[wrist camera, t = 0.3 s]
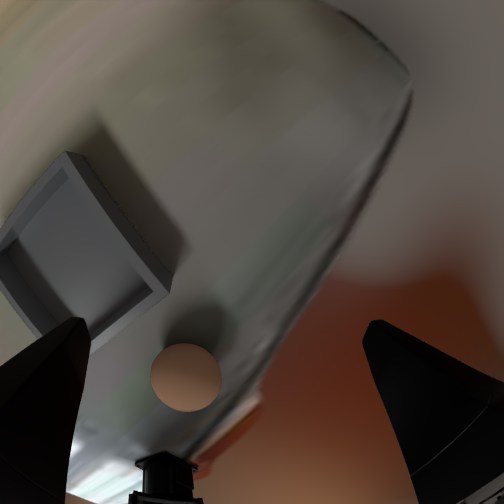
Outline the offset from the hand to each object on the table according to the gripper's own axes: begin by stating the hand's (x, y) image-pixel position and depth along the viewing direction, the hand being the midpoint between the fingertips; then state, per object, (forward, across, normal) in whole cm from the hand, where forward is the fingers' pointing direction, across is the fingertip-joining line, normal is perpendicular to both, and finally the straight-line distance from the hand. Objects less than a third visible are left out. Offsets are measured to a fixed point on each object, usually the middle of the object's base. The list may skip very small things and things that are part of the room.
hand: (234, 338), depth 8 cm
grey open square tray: (+13, +12, +5) cm, 19 cm away
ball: (+9, +2, +13) cm, 16 cm away
